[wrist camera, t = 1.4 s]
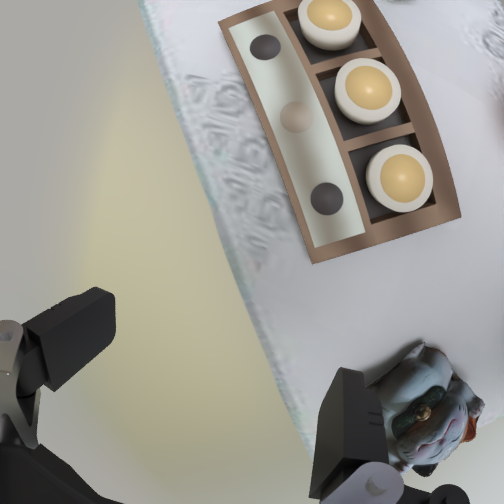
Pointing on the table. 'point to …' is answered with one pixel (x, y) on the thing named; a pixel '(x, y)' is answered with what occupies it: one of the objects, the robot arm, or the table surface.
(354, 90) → the button mid
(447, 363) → the lucky cat figurine
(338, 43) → the button
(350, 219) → the wooden candle tray
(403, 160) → the button
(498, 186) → the table surface
